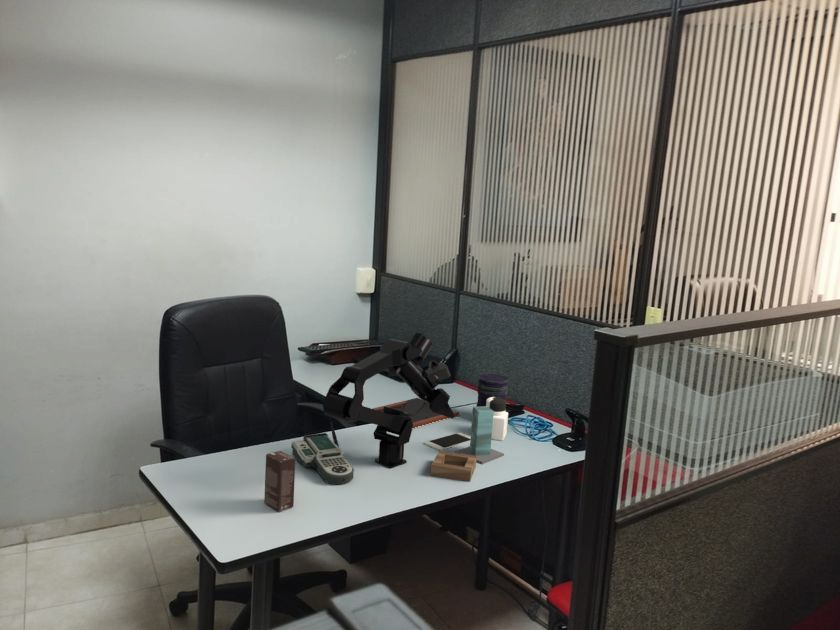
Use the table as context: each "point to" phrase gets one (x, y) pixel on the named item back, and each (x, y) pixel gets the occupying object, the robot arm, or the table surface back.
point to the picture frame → (417, 411)
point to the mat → (482, 458)
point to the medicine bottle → (498, 417)
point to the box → (279, 481)
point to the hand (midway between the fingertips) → (448, 412)
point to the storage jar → (491, 388)
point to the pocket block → (453, 466)
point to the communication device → (324, 457)
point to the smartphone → (448, 441)
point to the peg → (481, 430)
